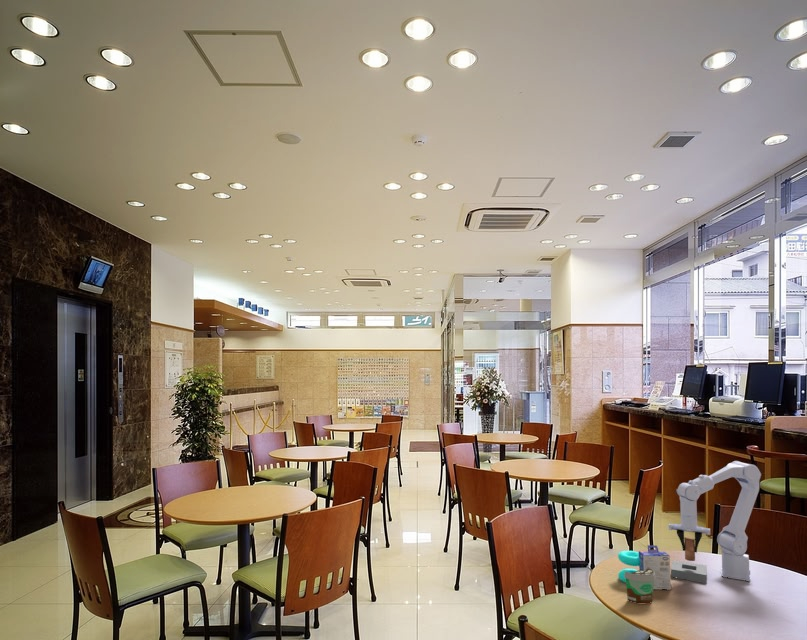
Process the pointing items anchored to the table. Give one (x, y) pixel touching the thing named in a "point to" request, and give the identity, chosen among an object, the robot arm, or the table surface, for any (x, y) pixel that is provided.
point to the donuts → (628, 562)
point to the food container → (640, 585)
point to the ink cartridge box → (657, 566)
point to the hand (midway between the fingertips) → (689, 550)
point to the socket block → (689, 571)
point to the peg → (689, 549)
